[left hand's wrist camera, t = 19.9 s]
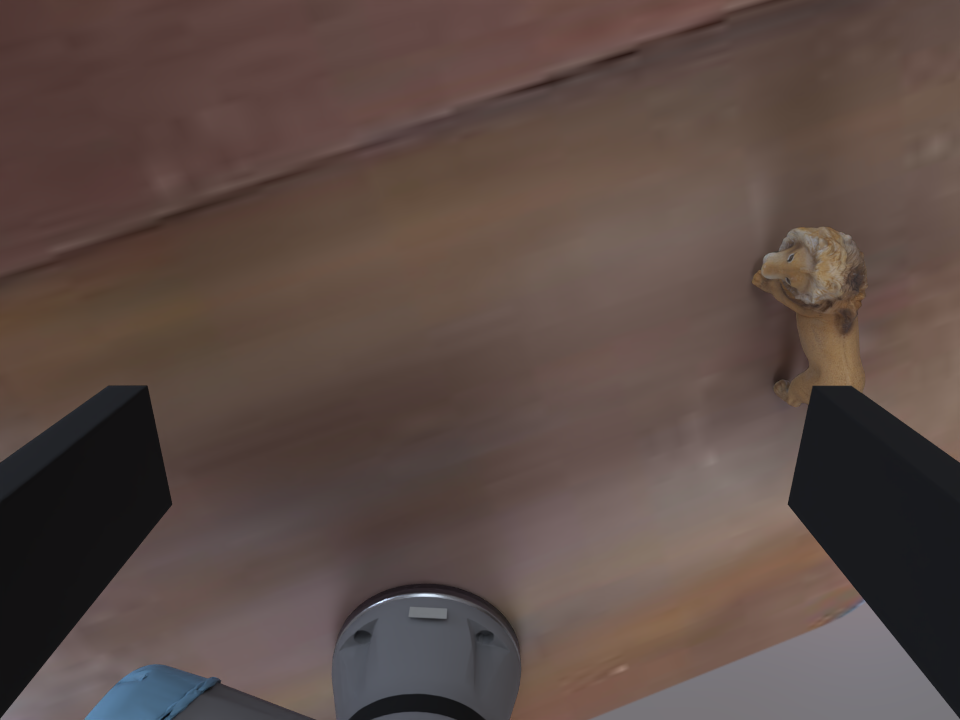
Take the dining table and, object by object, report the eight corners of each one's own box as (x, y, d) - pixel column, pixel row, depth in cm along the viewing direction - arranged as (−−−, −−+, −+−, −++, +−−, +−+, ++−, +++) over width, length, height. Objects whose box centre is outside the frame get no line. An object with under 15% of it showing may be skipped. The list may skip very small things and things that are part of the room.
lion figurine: (711, 232, 39) (774, 262, 31) (793, 192, 38) (882, 212, 30) (782, 419, 44) (853, 490, 35) (856, 387, 43) (948, 452, 34)
